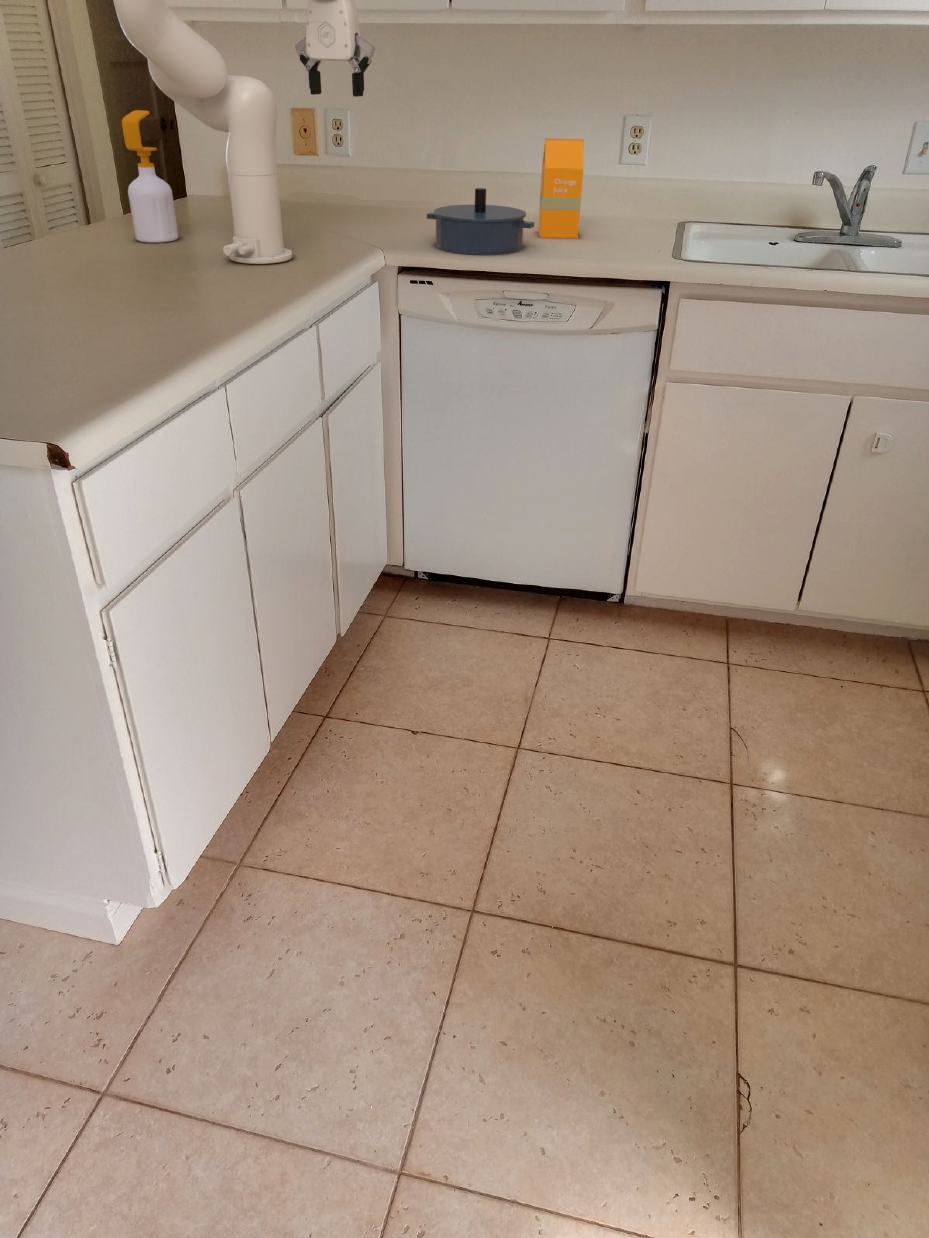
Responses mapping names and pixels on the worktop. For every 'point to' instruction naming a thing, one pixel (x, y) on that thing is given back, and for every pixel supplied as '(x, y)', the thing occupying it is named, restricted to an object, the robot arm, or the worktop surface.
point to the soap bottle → (148, 190)
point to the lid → (480, 211)
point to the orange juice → (561, 188)
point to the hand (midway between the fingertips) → (336, 95)
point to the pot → (479, 236)
